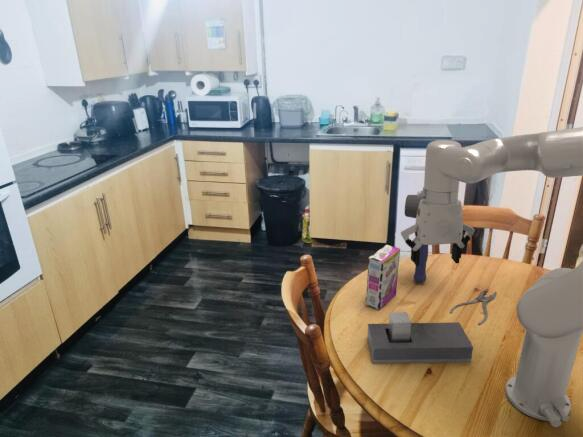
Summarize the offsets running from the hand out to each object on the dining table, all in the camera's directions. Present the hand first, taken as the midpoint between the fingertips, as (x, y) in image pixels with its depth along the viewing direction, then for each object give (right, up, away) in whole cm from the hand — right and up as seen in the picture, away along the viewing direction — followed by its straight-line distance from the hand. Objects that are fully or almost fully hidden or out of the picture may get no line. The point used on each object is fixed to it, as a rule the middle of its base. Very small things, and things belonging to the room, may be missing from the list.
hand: (435, 262), depth 105 cm
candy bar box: (-7, -15, +28) cm, 32 cm away
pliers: (+20, -16, +25) cm, 35 cm away
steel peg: (-8, -22, +6) cm, 24 cm away
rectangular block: (-3, -23, +6) cm, 24 cm away
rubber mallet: (+7, -11, +37) cm, 39 cm away
